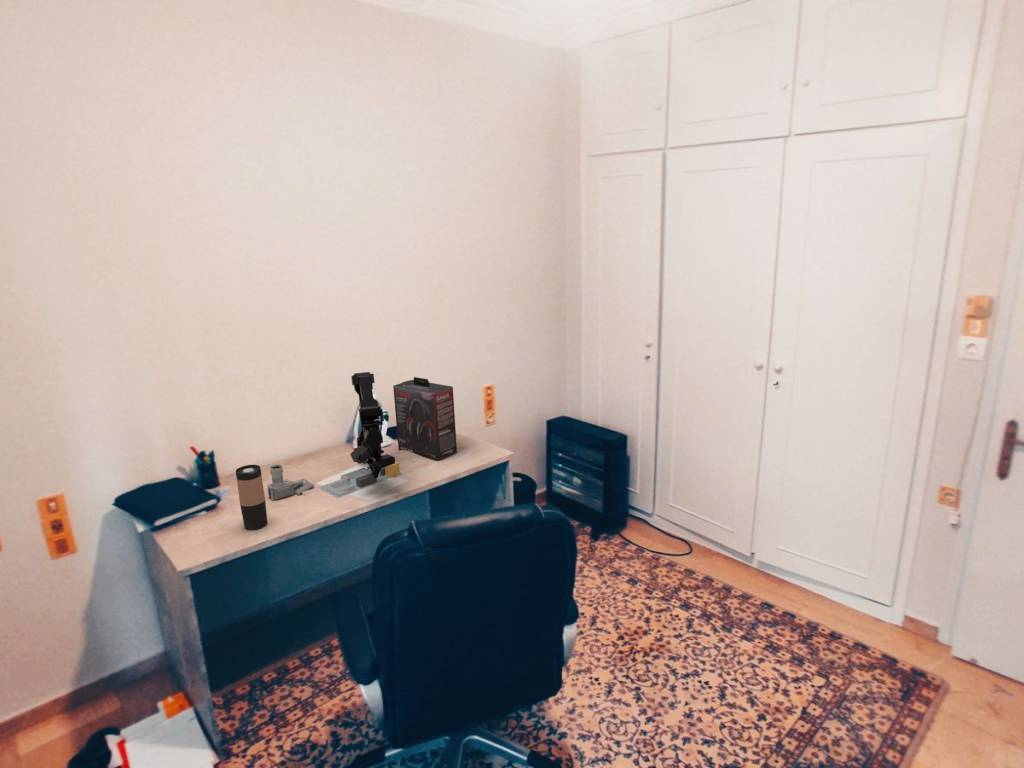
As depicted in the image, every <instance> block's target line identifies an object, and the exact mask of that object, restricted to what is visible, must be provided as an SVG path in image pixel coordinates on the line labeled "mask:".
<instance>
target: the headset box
mask: <svg viewBox="0 0 1024 768" xmlns="http://www.w3.org/2000/svg"><path fill="white" fill-rule="evenodd" d="M392 388H393V400H394V410H395V423H396V434H397V448H398V451H405V452H406V451H407V452H410V453H412V454H415V455H417V456H419V457H422V458H426V459H431V460H434V461H441V460H443V459H445V458H448V457H449V456H452V455H454V454H456V453H458V447H457V432H456V430H457V429H456V415H455V403H454V402H455V400H454V387H453V386H452V385H445V384H441V383H439V384H438V383H433V382H430V381H429V379H428V378H423V377H417V376H413V379H409V380H406V381H402V382H401V383H398V384H394V385H393V386H392Z"/></svg>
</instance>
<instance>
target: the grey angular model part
mask: <svg viewBox="0 0 1024 768" xmlns="http://www.w3.org/2000/svg"><path fill="white" fill-rule="evenodd" d="M269 471H270V475H271V481H272V483H270V484H268V485H267V493H268V494H267V495H268V499H271V501H272V502H274V501H275V500H276V501H278V500H281V499H284V498H288V497H292V496H294V495H295V494H296V495H297V496H299V495H302V494H303V492H307V491H308V490H310V489H311V488H313V487H314V486H315V484H314V483H312V482H310V481H308V480H307V479H305V478H304V477H303V478H301V479H296V480H293V481H292V480H289V479H284V476H283V473H284V468H283V465H282V464H274V465H271V466H269Z"/></svg>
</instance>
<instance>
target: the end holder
mask: <svg viewBox="0 0 1024 768" xmlns="http://www.w3.org/2000/svg"><path fill="white" fill-rule="evenodd" d="M337 481H338V480H337ZM334 482H335V481H334ZM343 485H345V480H341V481H338V482H335V483H333V484H330V485H327V486H326V490H327V491H329V492H331V493H333V494H335V495H336V496H341V495H344V494H346V493H349V492H352V491H354V490H356V487H355V485H352V486H350V487H347V488H344V489H341V490H337V489H335V488H337V487H340V486H343Z"/></svg>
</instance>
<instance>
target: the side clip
mask: <svg viewBox="0 0 1024 768" xmlns="http://www.w3.org/2000/svg"><path fill="white" fill-rule="evenodd" d="M370 473H371V471H370V470H368V469H367V468H366V467H361V468H358V469H355V470H353V471H350V472H346V473H344V474H340V479H341V480H345V484H347V485H350V479H353V478H355V477H358V476H361V475H367V474H370Z"/></svg>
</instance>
